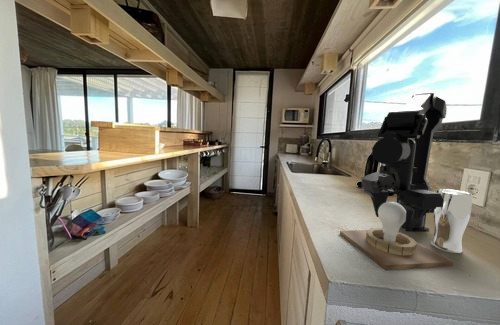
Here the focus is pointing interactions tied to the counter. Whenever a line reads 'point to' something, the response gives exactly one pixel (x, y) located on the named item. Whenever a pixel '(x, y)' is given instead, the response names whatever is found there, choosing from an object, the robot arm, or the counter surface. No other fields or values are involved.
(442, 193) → the beer glass
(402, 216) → the lightbulb
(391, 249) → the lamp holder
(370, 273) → the counter surface
